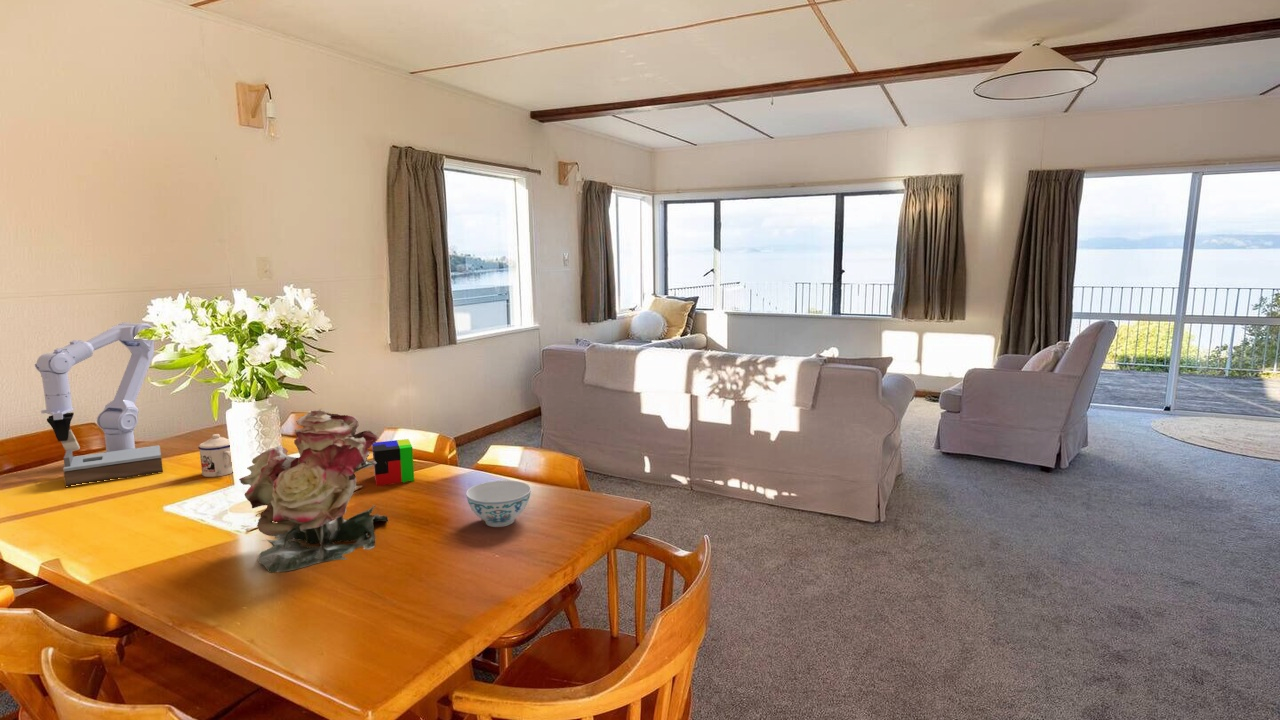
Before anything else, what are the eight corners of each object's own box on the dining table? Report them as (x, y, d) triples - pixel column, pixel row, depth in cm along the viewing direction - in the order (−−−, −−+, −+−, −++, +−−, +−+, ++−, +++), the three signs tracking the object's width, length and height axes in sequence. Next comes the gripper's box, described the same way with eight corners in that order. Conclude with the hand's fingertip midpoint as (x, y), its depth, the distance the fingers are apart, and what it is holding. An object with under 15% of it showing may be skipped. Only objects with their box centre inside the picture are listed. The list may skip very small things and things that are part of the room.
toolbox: (69, 475, 195) (67, 461, 194) (161, 461, 208) (160, 448, 207) (65, 487, 184) (63, 472, 183) (162, 472, 197) (161, 458, 196)
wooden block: (67, 451, 197) (58, 433, 195) (80, 447, 198) (70, 429, 197) (67, 453, 194) (57, 435, 193) (79, 449, 196) (70, 430, 194)
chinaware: (517, 536, 149) (516, 503, 148) (456, 531, 152) (454, 499, 151) (540, 512, 163) (539, 482, 162) (484, 508, 166) (482, 478, 165)
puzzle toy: (374, 476, 193) (372, 442, 191) (410, 471, 197) (408, 438, 195) (376, 486, 184) (374, 451, 182) (414, 481, 188) (412, 447, 186)
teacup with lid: (194, 474, 195) (190, 436, 193) (226, 466, 202) (223, 429, 201) (217, 481, 189) (213, 441, 187) (249, 472, 196) (246, 434, 195)
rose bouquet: (253, 534, 151) (241, 405, 147) (389, 516, 161) (382, 395, 157) (229, 584, 127) (214, 432, 123) (390, 559, 137) (382, 418, 133)
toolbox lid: (67, 460, 194) (66, 449, 194) (159, 447, 207) (158, 437, 207) (63, 471, 183) (61, 460, 182) (161, 457, 196) (160, 446, 196)
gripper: (41, 392, 196) (47, 436, 198) (36, 399, 185) (42, 446, 187) (72, 389, 200) (78, 433, 202) (69, 396, 189) (75, 442, 191)
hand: (63, 439), depth 195 cm, fingers closed on wooden block, 3 cm apart
